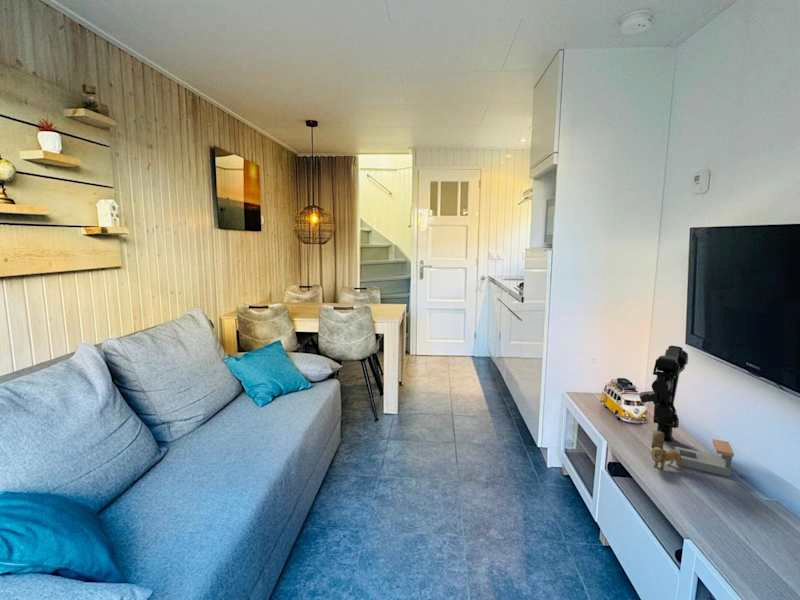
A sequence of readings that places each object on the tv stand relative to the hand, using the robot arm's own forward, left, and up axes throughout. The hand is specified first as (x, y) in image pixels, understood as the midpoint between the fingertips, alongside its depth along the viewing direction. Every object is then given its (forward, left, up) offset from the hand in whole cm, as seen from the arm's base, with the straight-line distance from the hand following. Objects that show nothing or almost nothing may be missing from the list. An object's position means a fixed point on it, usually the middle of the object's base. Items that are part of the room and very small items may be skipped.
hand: (660, 424), depth 177 cm
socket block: (+6, +15, -11) cm, 19 cm away
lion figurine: (+17, +2, -11) cm, 20 cm away
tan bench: (+6, +20, -11) cm, 24 cm away
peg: (0, 0, -11) cm, 11 cm away
